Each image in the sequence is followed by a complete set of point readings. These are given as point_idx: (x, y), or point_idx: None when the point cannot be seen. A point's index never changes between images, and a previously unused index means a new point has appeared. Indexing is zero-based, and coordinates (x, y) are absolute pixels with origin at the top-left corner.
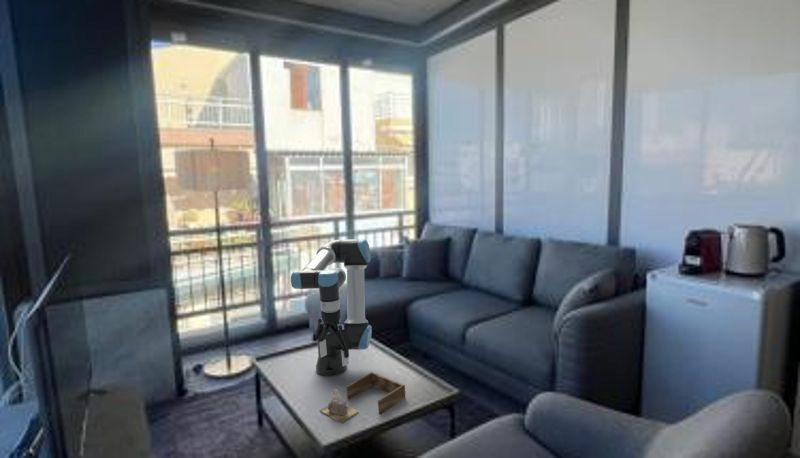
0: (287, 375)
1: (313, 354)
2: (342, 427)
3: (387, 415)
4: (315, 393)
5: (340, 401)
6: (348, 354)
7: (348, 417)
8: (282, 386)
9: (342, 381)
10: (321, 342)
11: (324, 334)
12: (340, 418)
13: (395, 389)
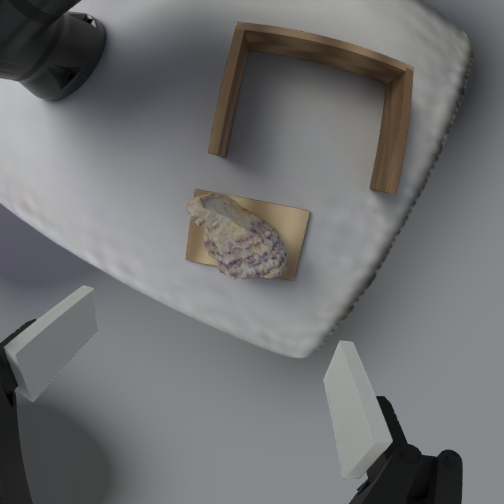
0: (5, 160)
1: None
2: (306, 293)
3: None
4: (105, 183)
5: (264, 261)
6: (392, 416)
7: (298, 253)
8: (25, 206)
9: (133, 81)
10: (33, 392)
11: (18, 469)
12: None
13: (404, 102)
